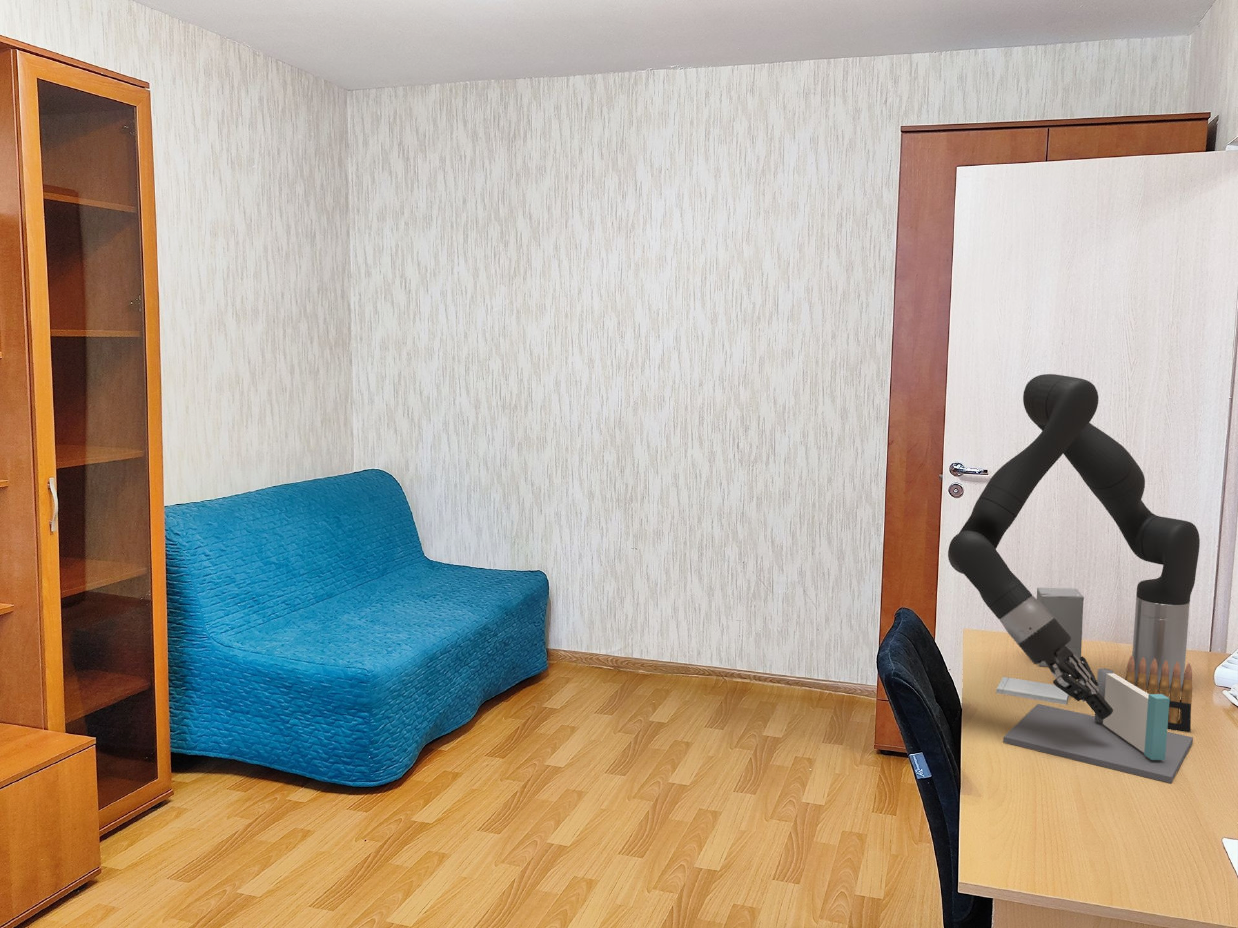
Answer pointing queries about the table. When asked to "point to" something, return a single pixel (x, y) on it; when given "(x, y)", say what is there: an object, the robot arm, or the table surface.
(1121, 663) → the table surface
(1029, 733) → the mat
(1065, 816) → the table surface
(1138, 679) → the ammunition clip
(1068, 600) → the skincare box
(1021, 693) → the hard drive
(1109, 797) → the table surface
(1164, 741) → the cream barrier panel
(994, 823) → the table surface
